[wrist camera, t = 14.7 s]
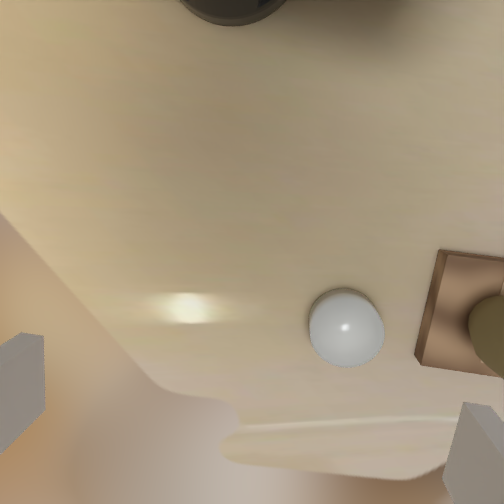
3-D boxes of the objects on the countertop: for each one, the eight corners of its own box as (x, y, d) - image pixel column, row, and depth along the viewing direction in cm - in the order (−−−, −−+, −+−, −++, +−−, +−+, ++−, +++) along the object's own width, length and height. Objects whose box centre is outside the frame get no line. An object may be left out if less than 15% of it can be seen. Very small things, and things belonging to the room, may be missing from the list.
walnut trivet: (438, 249, 42) (448, 255, 40) (561, 265, 41) (579, 272, 39) (414, 354, 45) (421, 366, 43) (527, 371, 44) (541, 384, 42)
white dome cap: (300, 297, 45) (301, 309, 41) (367, 280, 44) (374, 291, 40) (319, 357, 47) (321, 374, 43) (384, 342, 45) (392, 358, 41)
